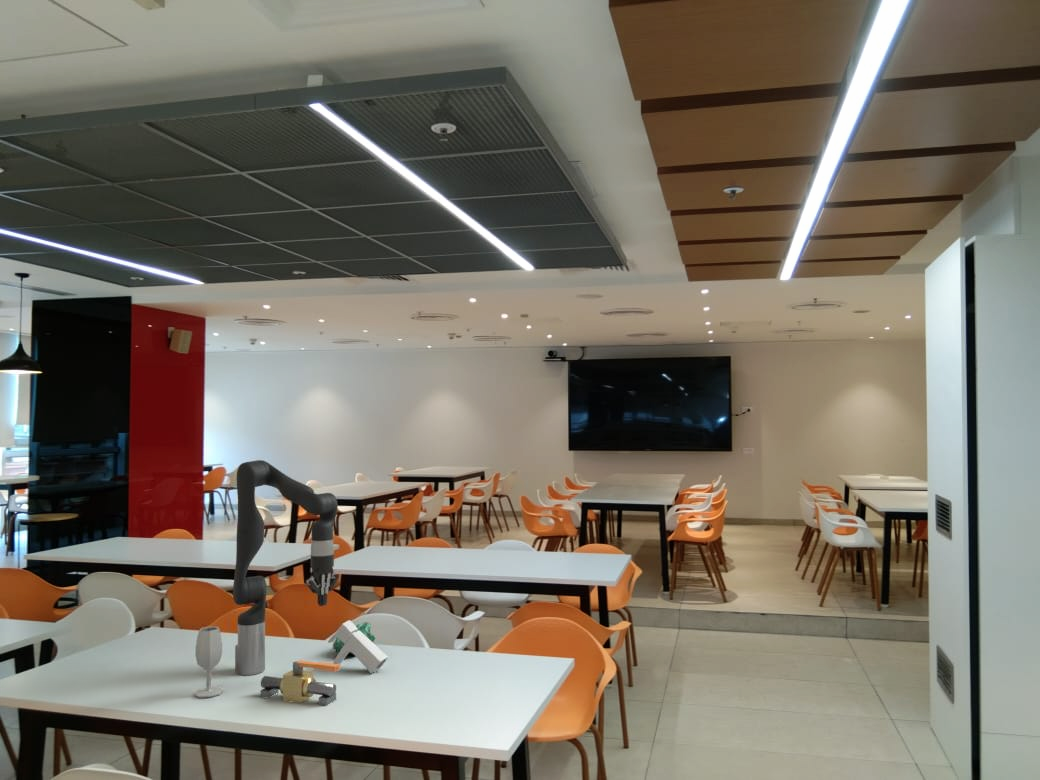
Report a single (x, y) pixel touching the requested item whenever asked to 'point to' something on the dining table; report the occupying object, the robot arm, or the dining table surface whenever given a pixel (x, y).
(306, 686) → the valve
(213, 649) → the wineglass
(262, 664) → the robot arm
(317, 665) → the lever
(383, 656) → the faucet
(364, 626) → the mineral
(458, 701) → the dining table surface
